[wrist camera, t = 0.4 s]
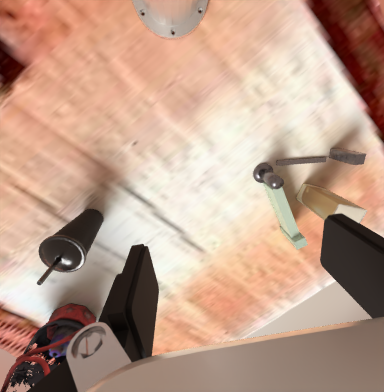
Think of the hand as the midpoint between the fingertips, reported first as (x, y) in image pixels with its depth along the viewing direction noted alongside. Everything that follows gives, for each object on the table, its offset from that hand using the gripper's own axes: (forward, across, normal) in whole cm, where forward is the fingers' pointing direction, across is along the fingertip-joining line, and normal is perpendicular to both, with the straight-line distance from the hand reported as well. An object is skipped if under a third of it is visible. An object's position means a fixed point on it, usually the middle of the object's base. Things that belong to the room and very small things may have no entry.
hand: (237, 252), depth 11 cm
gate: (+35, -18, +16) cm, 43 cm away
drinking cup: (+36, +26, +12) cm, 46 cm away
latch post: (+35, -25, +5) cm, 44 cm away
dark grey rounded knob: (+36, -15, +7) cm, 39 cm away
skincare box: (+36, -26, +14) cm, 47 cm away
